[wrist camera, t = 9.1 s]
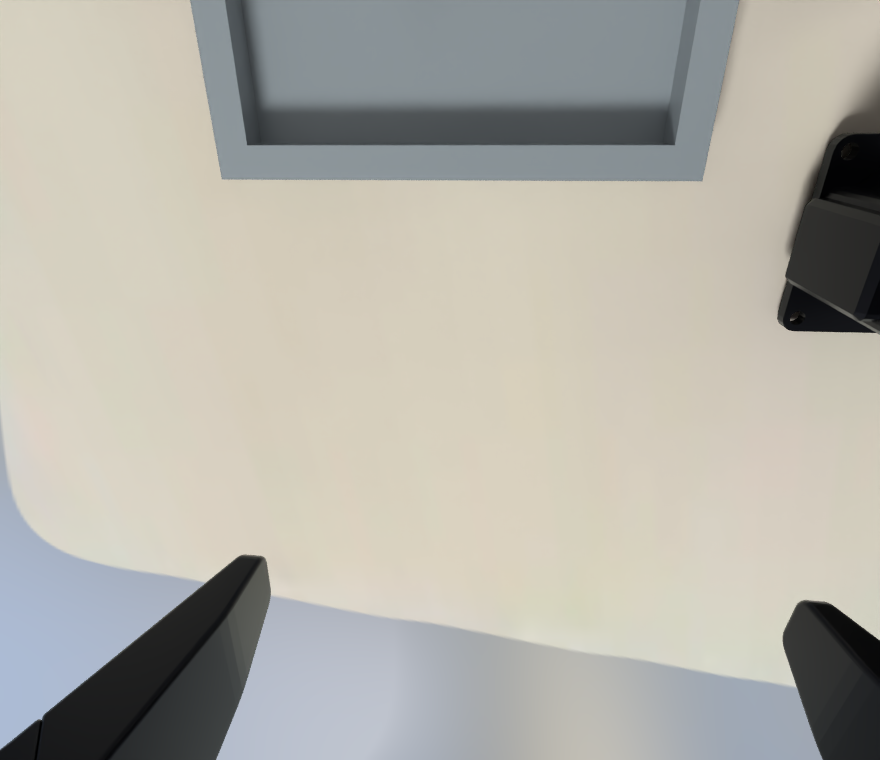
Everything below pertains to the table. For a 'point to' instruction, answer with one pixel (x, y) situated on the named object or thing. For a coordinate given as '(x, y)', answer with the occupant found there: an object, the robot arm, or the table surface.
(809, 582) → the table surface
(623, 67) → the serving tray
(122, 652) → the robot arm
